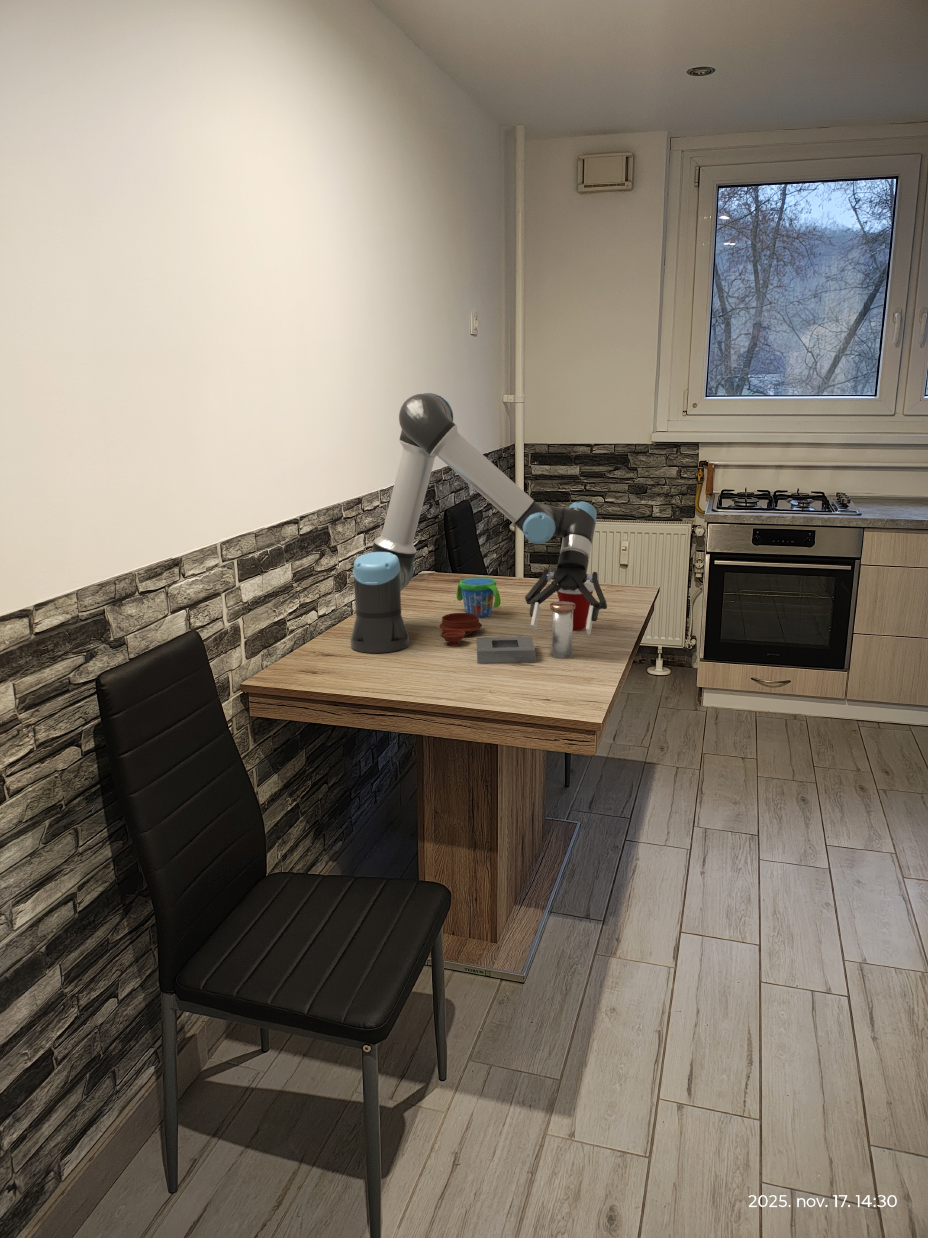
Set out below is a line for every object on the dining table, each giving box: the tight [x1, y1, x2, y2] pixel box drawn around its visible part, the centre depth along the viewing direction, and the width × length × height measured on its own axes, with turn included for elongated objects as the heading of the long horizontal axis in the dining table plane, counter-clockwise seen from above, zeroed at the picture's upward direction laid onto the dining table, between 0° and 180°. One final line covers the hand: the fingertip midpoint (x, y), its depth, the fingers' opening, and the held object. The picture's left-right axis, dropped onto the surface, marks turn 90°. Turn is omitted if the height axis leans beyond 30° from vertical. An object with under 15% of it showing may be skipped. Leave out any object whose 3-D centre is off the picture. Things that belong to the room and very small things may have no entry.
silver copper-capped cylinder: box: [549, 600, 575, 659], centre depth 218 cm, size 6×6×13 cm
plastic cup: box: [556, 581, 595, 631], centre depth 242 cm, size 11×11×12 cm
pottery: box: [438, 612, 483, 646], centre depth 237 cm, size 12×20×4 cm, turn 170°
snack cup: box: [456, 577, 502, 618], centre depth 258 cm, size 16×10×10 cm
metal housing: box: [475, 636, 536, 664], centre depth 220 cm, size 14×12×3 cm
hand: (560, 629), depth 215 cm, fingers open, 13 cm apart
